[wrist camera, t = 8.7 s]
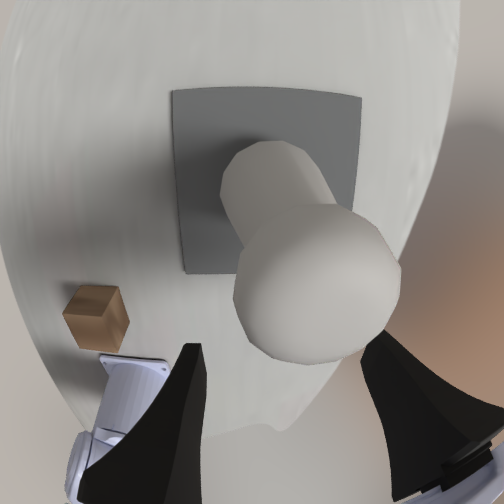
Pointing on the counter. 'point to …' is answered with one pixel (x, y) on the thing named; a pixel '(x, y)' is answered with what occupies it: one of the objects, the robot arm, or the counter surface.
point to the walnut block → (97, 318)
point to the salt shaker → (304, 259)
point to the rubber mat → (242, 136)
